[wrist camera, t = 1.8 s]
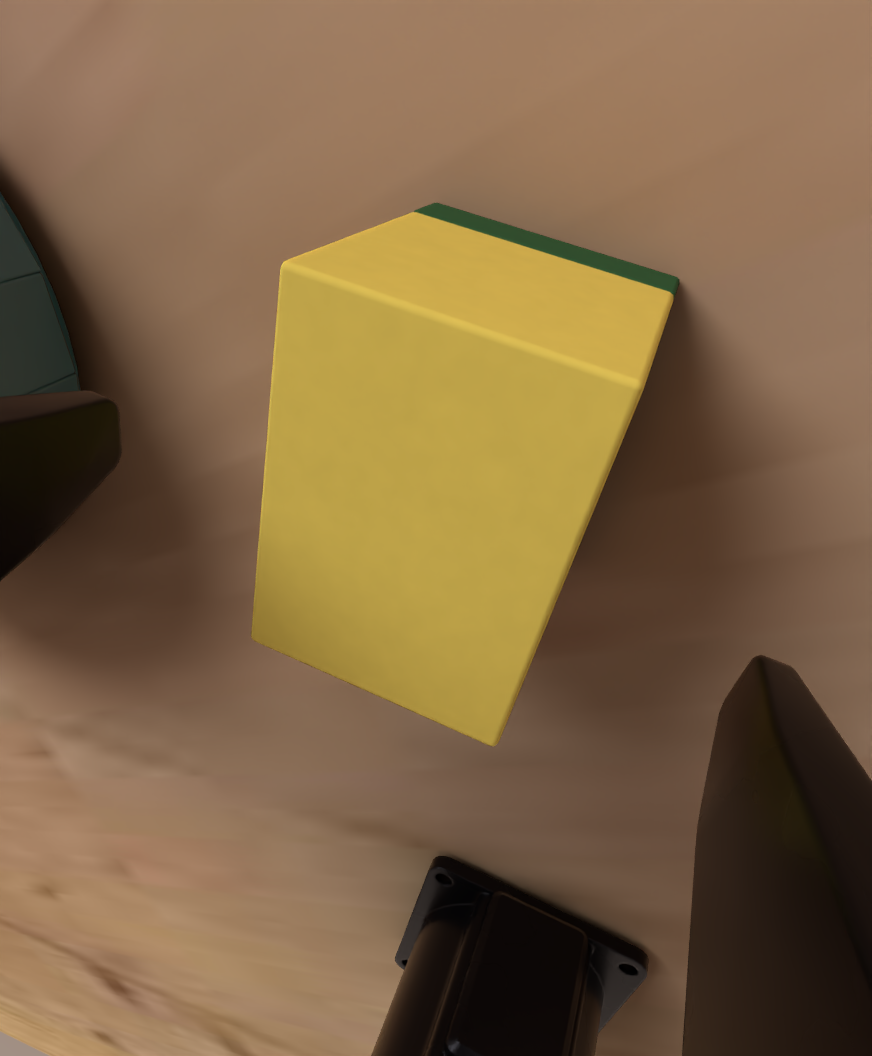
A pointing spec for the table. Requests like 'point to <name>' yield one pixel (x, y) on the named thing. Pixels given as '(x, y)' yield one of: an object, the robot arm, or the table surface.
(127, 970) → the table surface
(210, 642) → the table surface
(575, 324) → the sponge
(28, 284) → the bowl
